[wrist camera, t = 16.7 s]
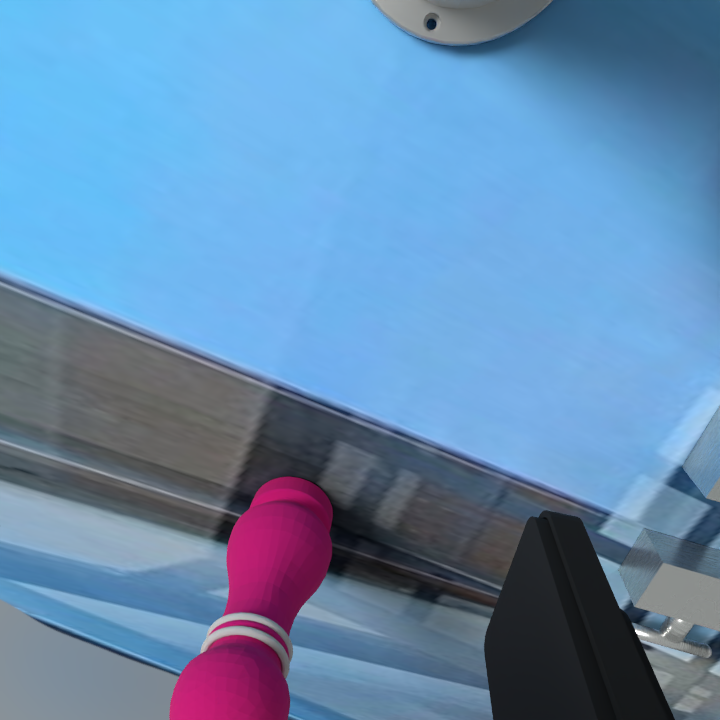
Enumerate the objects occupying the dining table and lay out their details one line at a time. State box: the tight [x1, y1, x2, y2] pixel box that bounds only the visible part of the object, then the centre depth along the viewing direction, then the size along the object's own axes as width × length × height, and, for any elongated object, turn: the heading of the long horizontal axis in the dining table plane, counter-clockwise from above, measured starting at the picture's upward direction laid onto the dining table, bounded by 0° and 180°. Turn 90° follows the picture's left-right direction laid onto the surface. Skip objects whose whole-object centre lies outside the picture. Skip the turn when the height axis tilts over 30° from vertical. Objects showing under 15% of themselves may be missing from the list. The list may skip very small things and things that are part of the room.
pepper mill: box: [170, 477, 333, 720], centre depth 34 cm, size 7×7×20 cm
